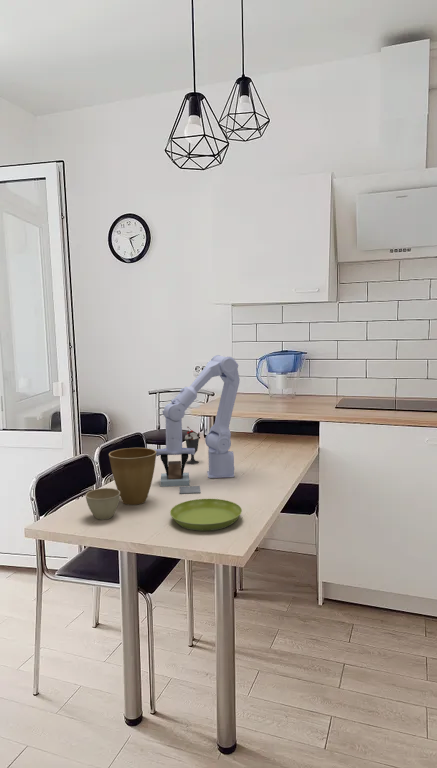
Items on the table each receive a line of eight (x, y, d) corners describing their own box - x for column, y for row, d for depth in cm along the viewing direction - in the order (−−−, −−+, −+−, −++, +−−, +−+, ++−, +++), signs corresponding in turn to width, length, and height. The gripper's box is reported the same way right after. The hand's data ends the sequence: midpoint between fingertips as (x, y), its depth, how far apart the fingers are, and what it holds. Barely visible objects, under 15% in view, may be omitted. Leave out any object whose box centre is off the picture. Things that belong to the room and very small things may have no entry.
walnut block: (181, 479, 202) (180, 460, 201) (181, 483, 197) (181, 464, 196) (168, 480, 201) (168, 461, 201) (168, 483, 197) (168, 464, 196)
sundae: (181, 463, 223) (180, 427, 222) (188, 459, 230) (187, 423, 228) (196, 465, 221) (195, 428, 219) (203, 461, 227) (202, 424, 225)
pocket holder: (188, 477, 205) (188, 472, 205) (189, 485, 195) (189, 480, 195) (161, 478, 204) (161, 473, 204) (160, 486, 194) (160, 481, 194)
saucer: (189, 505, 175) (189, 495, 175) (251, 513, 168) (251, 503, 167) (157, 528, 156) (157, 517, 156) (225, 539, 149) (225, 527, 148)
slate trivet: (199, 486, 193) (199, 485, 193) (200, 493, 186) (200, 492, 186) (179, 487, 193) (179, 486, 193) (179, 494, 186) (179, 492, 186)
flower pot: (80, 516, 166) (78, 493, 165) (108, 508, 173) (107, 486, 172) (98, 525, 159) (97, 501, 158) (127, 516, 166) (126, 493, 165)
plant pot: (167, 500, 179) (165, 451, 177) (129, 512, 169) (127, 460, 167) (138, 491, 190) (137, 444, 188) (101, 501, 179) (99, 452, 177)
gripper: (152, 440, 193) (153, 478, 195) (194, 439, 194) (195, 477, 196) (153, 435, 200) (154, 472, 202) (194, 434, 201) (194, 471, 203)
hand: (174, 474), depth 199 cm, fingers closed on walnut block, 4 cm apart
